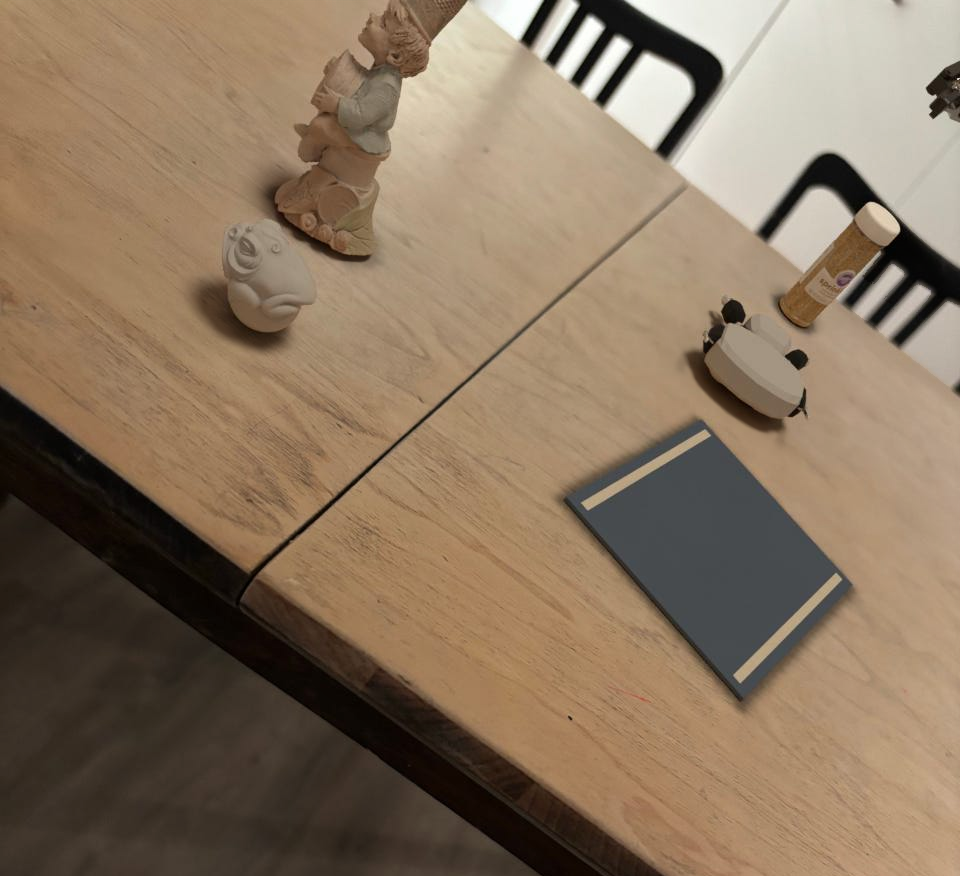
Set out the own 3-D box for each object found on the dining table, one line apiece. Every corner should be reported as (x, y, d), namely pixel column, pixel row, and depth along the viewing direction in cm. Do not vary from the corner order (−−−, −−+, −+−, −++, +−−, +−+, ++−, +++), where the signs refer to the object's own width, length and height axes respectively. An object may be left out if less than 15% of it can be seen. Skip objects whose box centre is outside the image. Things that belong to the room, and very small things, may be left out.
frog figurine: (227, 270, 70) (255, 188, 65) (312, 326, 71) (346, 249, 66) (185, 310, 66) (211, 226, 61) (276, 369, 67) (309, 291, 62)
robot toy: (702, 312, 102) (678, 372, 91) (731, 277, 99) (709, 335, 88) (794, 382, 103) (780, 450, 93) (825, 350, 100) (815, 416, 90)
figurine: (378, 214, 82) (489, -24, 67) (370, 275, 77) (487, 33, 63) (276, 166, 79) (369, -95, 64) (260, 227, 74) (357, -41, 59)
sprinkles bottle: (791, 327, 108) (884, 229, 98) (771, 297, 109) (860, 197, 100) (816, 329, 111) (909, 234, 101) (796, 300, 112) (885, 202, 102)
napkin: (698, 421, 89) (701, 418, 89) (849, 587, 87) (853, 584, 86) (563, 499, 74) (566, 496, 74) (740, 701, 72) (744, 698, 72)
